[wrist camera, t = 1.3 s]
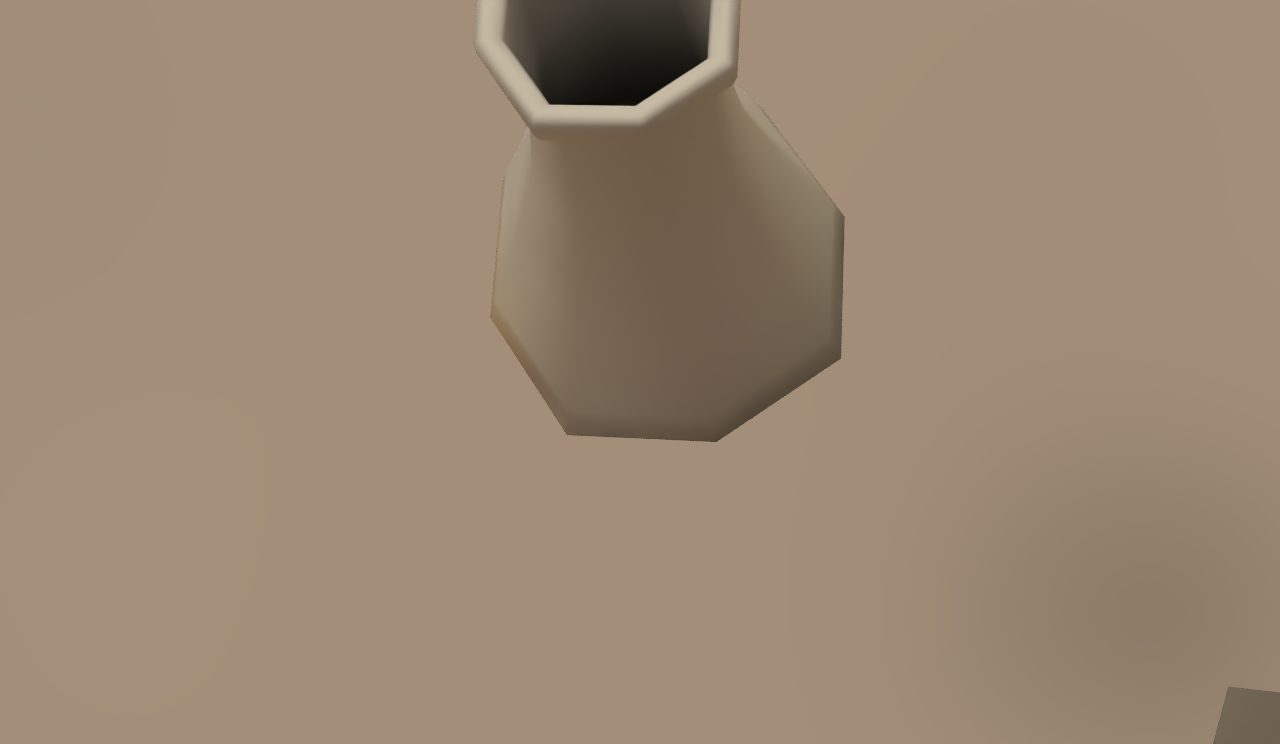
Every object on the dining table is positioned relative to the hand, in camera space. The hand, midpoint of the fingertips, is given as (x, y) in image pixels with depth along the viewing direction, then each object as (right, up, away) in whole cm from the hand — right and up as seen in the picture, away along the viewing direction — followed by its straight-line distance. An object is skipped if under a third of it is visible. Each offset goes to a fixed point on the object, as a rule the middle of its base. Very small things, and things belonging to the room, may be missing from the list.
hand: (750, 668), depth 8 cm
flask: (0, +4, +15) cm, 15 cm away
